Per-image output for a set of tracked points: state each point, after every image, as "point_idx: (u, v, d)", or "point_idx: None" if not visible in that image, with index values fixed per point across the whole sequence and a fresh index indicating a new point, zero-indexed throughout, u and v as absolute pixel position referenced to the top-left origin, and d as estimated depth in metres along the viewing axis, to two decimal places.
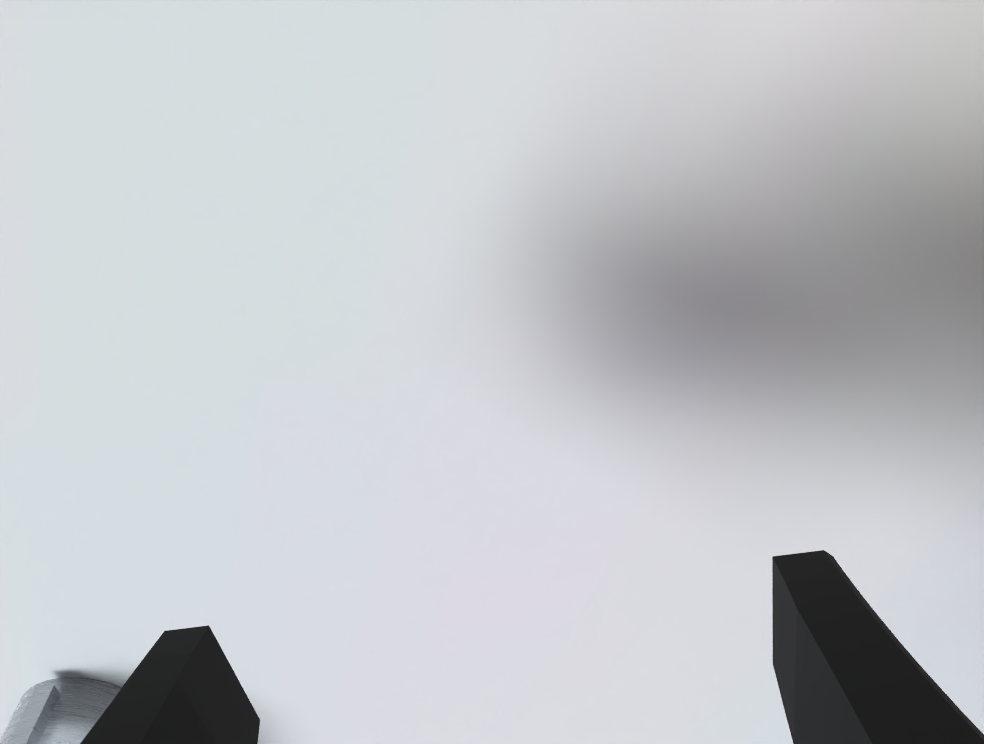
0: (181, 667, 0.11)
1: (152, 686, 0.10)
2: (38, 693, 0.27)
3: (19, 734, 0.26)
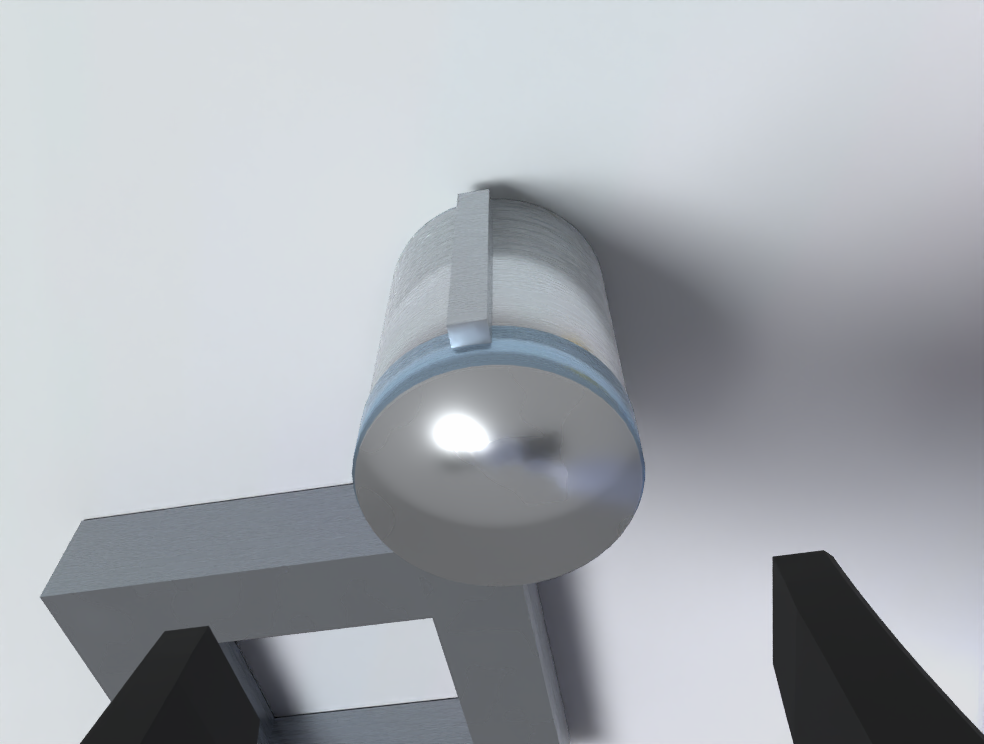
0: (181, 667, 0.11)
1: (152, 686, 0.10)
2: (468, 197, 0.17)
3: (467, 229, 0.16)
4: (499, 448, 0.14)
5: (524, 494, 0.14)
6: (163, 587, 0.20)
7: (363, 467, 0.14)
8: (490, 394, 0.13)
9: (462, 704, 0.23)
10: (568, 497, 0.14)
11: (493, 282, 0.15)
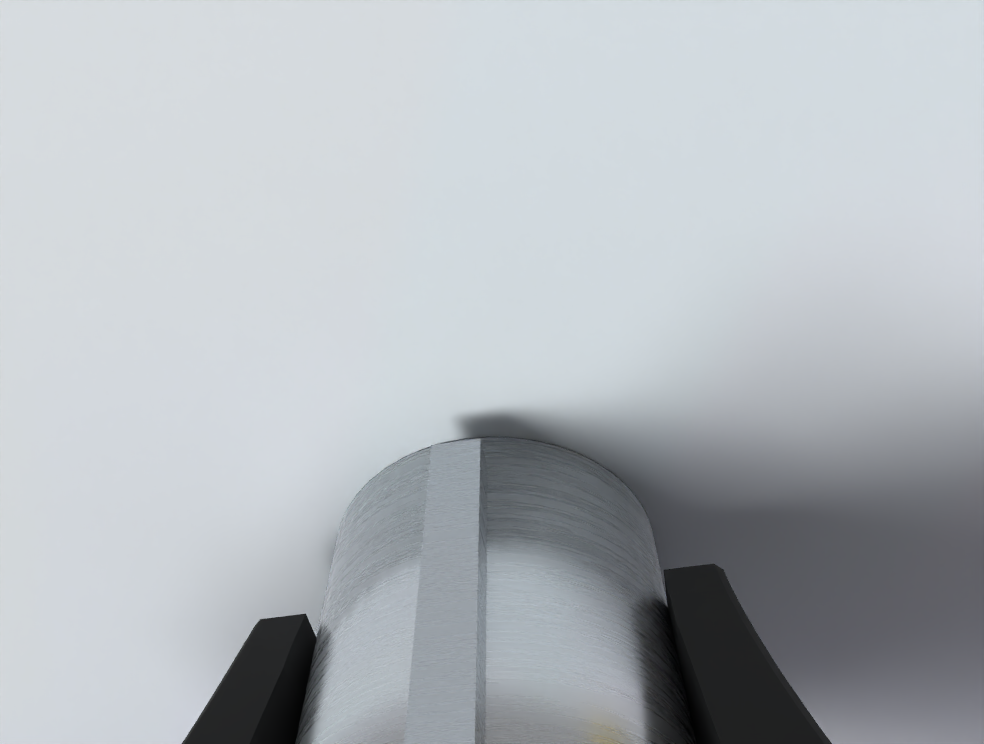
0: (284, 655, 0.10)
1: (258, 674, 0.10)
2: (447, 456, 0.10)
3: (443, 542, 0.09)
4: None
5: None
6: None
7: None
8: None
9: None
10: None
11: (487, 663, 0.09)
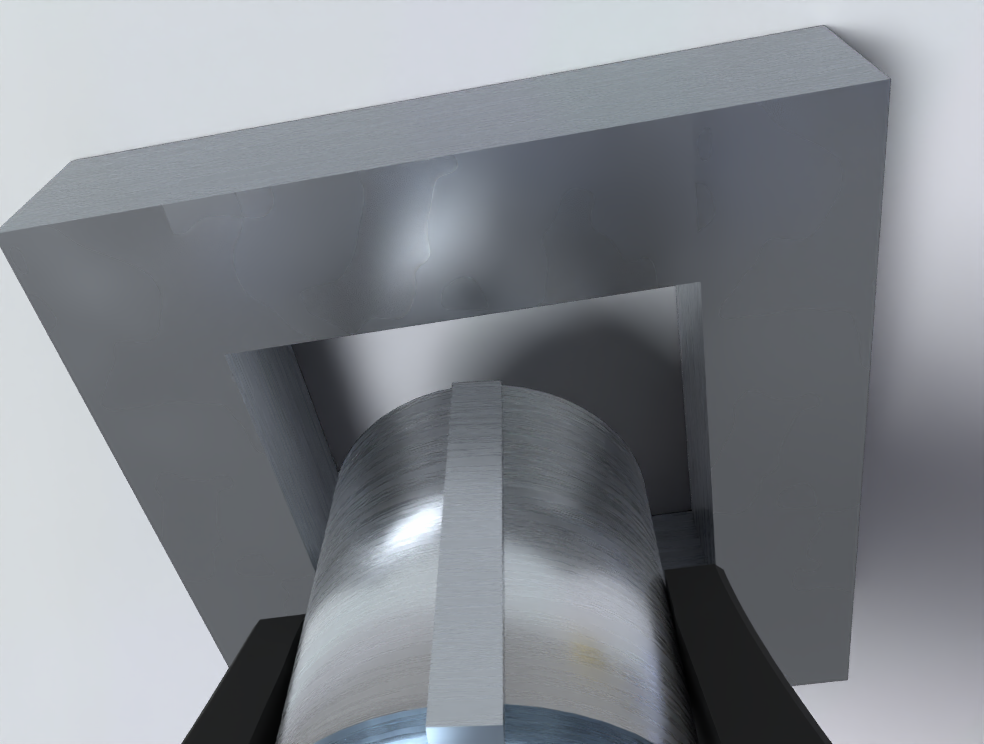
0: (284, 655, 0.10)
1: (257, 674, 0.10)
2: (468, 393, 0.11)
3: (468, 468, 0.10)
4: None
5: None
6: (219, 210, 0.11)
7: None
8: None
9: (714, 474, 0.13)
10: None
11: (505, 581, 0.09)
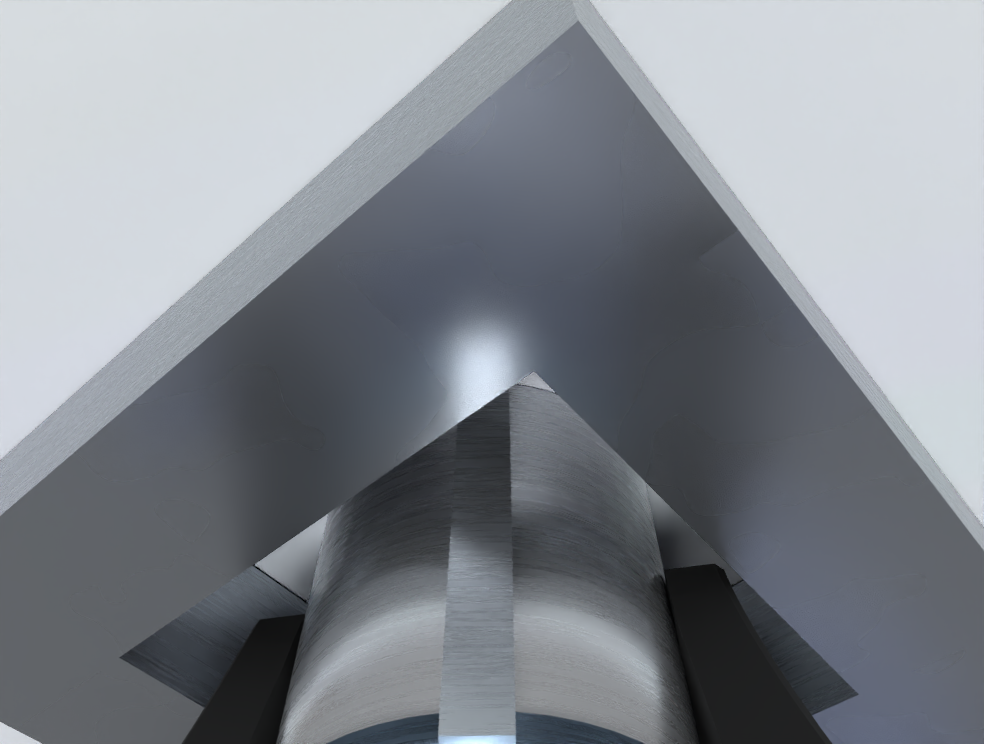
0: (284, 655, 0.10)
1: (257, 674, 0.10)
2: None
3: (475, 469, 0.09)
4: None
5: None
6: (759, 294, 0.08)
7: None
8: None
9: None
10: None
11: (514, 585, 0.09)
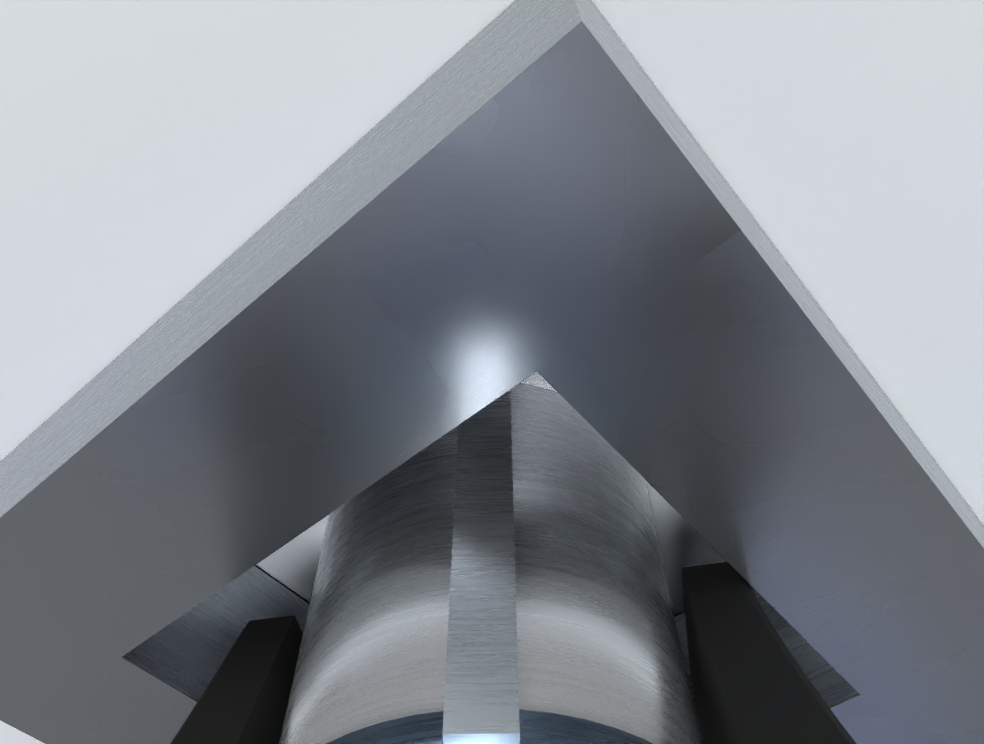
0: (272, 656, 0.10)
1: (245, 675, 0.10)
2: None
3: (478, 468, 0.10)
4: None
5: None
6: (762, 295, 0.08)
7: None
8: None
9: None
10: None
11: (516, 583, 0.09)
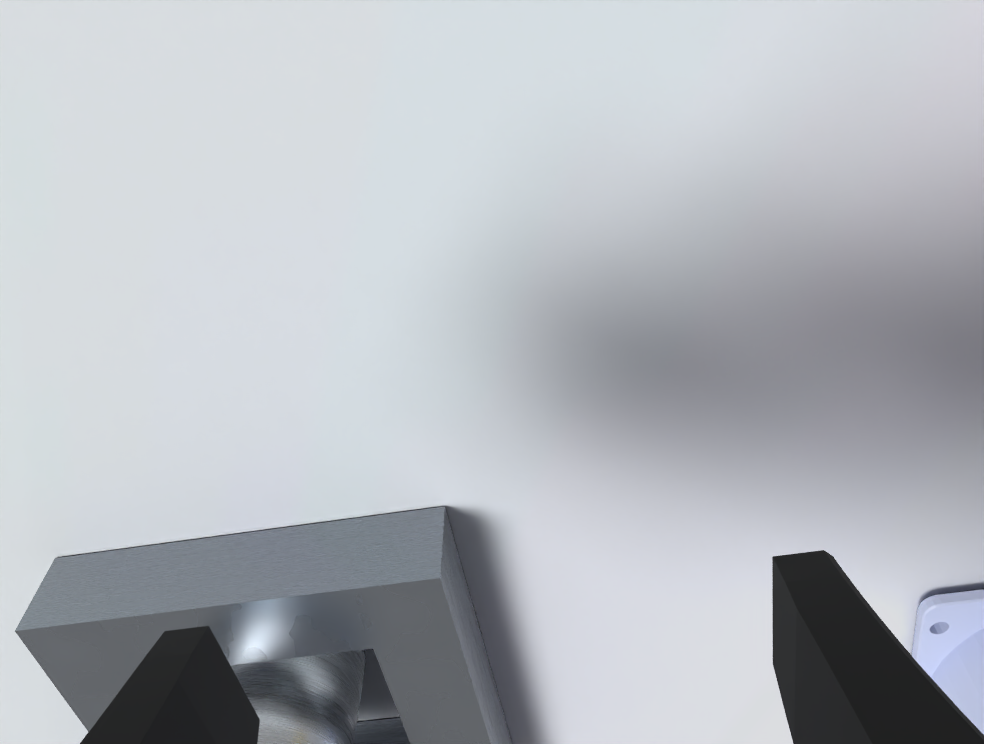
0: (181, 667, 0.11)
1: (152, 686, 0.10)
2: None
3: None
4: None
5: None
6: (127, 622, 0.22)
7: None
8: None
9: (404, 725, 0.25)
10: None
11: None
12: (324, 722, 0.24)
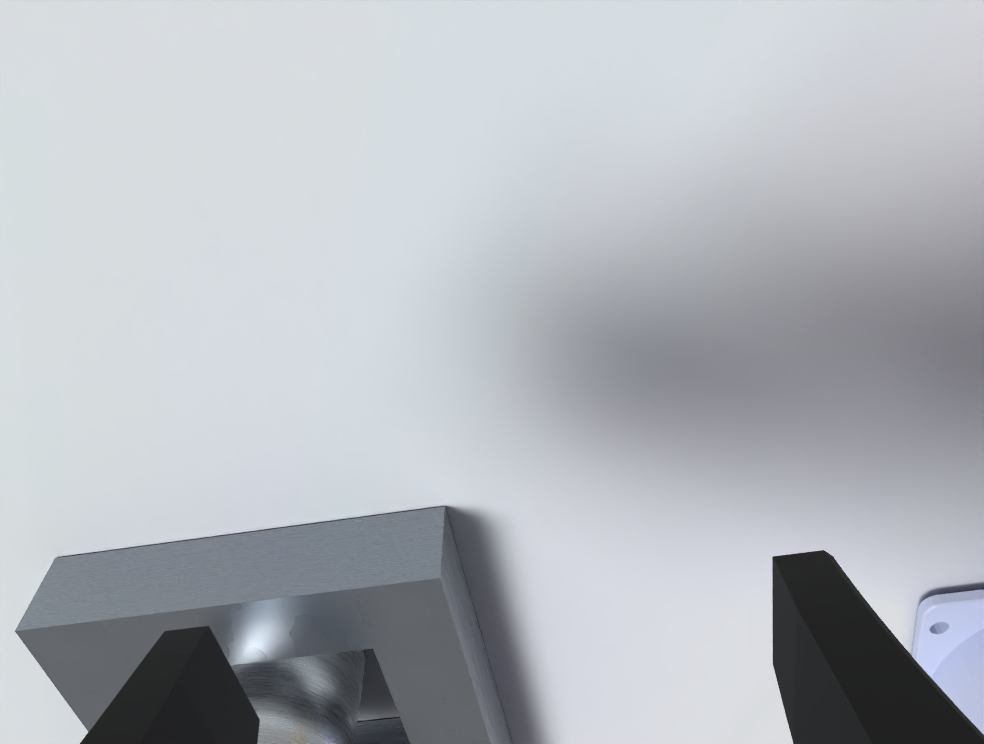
0: (181, 667, 0.11)
1: (152, 686, 0.10)
2: None
3: None
4: None
5: None
6: (127, 622, 0.22)
7: None
8: None
9: (404, 725, 0.25)
10: None
11: None
12: (324, 722, 0.24)
